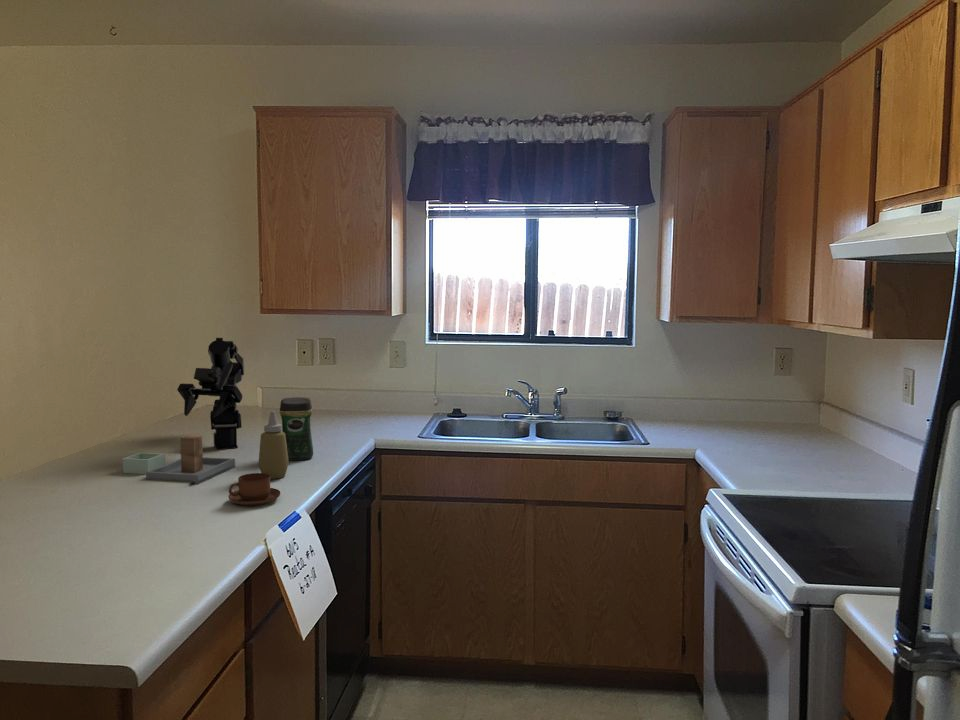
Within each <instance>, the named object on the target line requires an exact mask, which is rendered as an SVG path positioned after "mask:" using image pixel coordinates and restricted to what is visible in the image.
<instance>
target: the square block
mask: <svg viewBox="0 0 960 720" xmlns="http://www.w3.org/2000/svg"><path fill="white" fill-rule="evenodd" d="M203 457H204V456H203V436H202V435H190V434H188V435H186V436H183V437H180V459H181V472H186V473H196V472H198V471H201V470H203Z"/></svg>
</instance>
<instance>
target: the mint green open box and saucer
mask: <svg viewBox="0 0 960 720" xmlns="http://www.w3.org/2000/svg"><path fill="white" fill-rule="evenodd" d="M237 479H238V480H237V482H235V483H232V484H231V485H230V486H229V488H228V493H229V494H228V499H229V501H230V502H232V503H234V504H237V505H240V506H257V505H258V506H259V505H265V504H268V503H271V502H274V501H275V500H277V499H278V498H279V497H280V496H281V491H280V490H279V489H277V488H274V487H271V479H270V475H269V474H265V473H261V472H254V473H253V472H252V473H245V474H241V475H240V476H238V477H237ZM234 487H238V490H235V491H232V490H233V488H234Z"/></svg>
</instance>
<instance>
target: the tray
mask: <svg viewBox="0 0 960 720" xmlns="http://www.w3.org/2000/svg"><path fill="white" fill-rule="evenodd" d="M234 468H236V458H230V457H229V458H227V457H211V456H210V457H207V456H203V470H201V471H198V472H196V473H186V472H181V458H178V459H176V460H174V461H171V462H169V463H165V465H163V466H161V467H158V468H155V469H153V470H150V471H148V472H146V474H145V479H146V480H158V481H172V482H174V481H175V482H190V483H189V484H190V485H200V484H201V483H204V482H206V481H208V480H210V479H212V478H214V477H217V476H219V475H221V474H223V473H226V472H227V471H229V470H232V469H234Z"/></svg>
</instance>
